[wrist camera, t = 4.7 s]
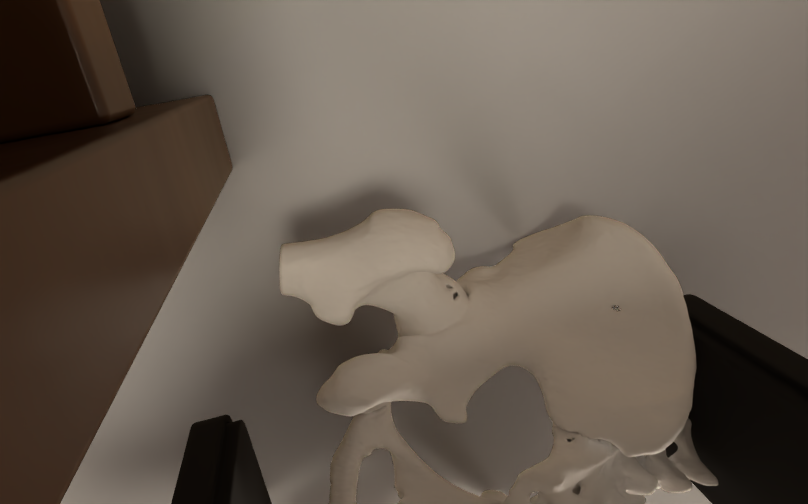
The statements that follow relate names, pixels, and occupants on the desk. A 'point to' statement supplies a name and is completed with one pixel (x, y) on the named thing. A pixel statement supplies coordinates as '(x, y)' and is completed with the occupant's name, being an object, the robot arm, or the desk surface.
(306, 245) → the pelvis model
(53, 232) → the shelf
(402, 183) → the desk surface
